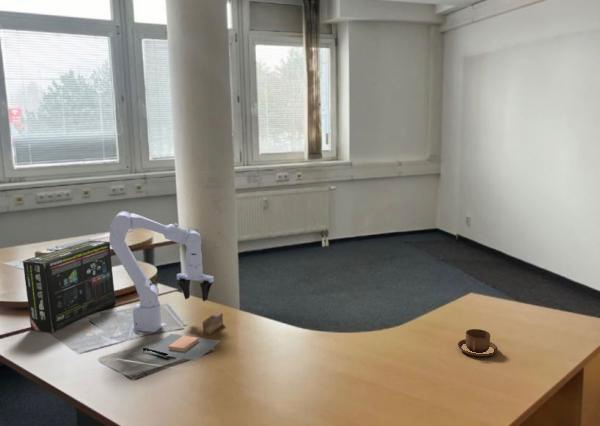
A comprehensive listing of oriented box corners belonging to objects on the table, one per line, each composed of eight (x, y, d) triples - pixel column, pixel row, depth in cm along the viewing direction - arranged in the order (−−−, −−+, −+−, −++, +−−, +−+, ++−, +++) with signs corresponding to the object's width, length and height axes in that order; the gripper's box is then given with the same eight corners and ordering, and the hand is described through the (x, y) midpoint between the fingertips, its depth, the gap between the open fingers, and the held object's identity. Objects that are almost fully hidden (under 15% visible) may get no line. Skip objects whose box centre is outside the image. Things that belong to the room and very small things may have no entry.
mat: (143, 353, 172) (142, 352, 172) (170, 335, 187) (170, 334, 186) (196, 361, 165) (196, 360, 165) (221, 342, 180) (221, 340, 180)
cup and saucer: (500, 361, 162) (501, 342, 161) (459, 358, 164) (460, 339, 163) (494, 345, 173) (494, 327, 172) (456, 343, 176) (456, 325, 175)
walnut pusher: (203, 335, 187) (202, 321, 186) (217, 325, 196) (216, 312, 195) (209, 336, 186) (208, 322, 185) (223, 325, 195) (222, 312, 194)
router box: (95, 300, 227) (90, 239, 223) (116, 302, 223) (112, 241, 219) (27, 330, 194) (20, 260, 190) (51, 334, 190) (43, 262, 186)
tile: (183, 339, 181) (168, 349, 173) (183, 335, 181) (168, 346, 173) (198, 341, 179) (184, 352, 171) (198, 337, 179) (184, 348, 171)
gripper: (217, 262, 195) (218, 297, 197) (183, 259, 200) (185, 294, 202) (207, 267, 189) (209, 303, 191) (172, 264, 193) (174, 300, 196)
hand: (196, 299), depth 196 cm, fingers open, 7 cm apart
